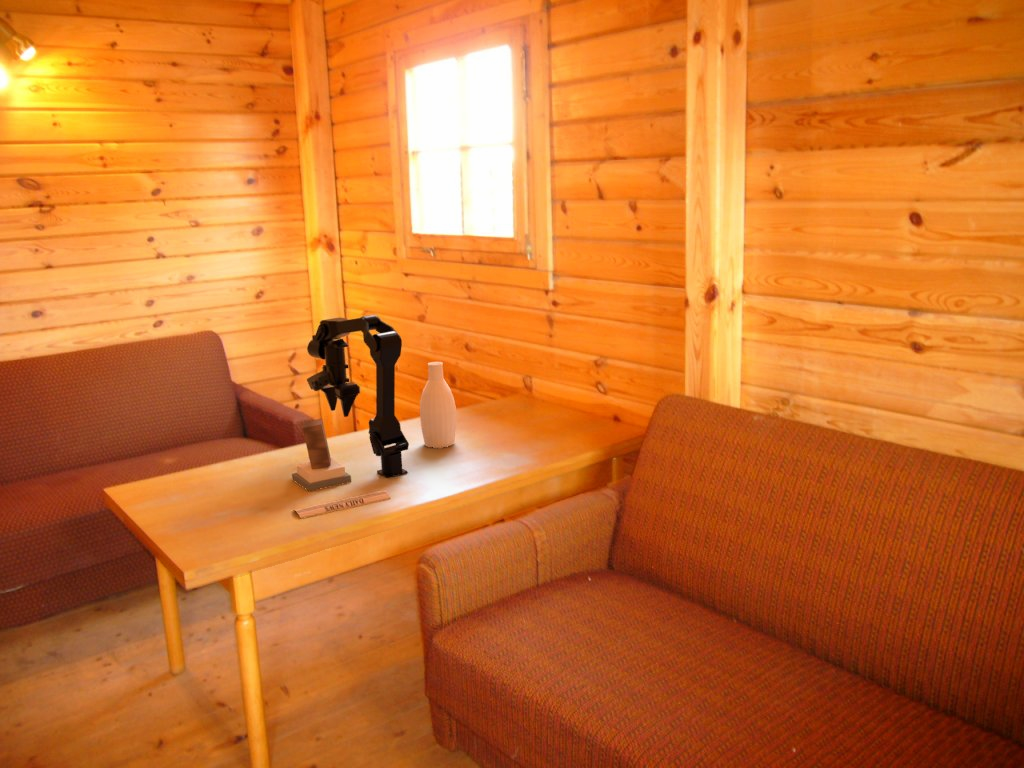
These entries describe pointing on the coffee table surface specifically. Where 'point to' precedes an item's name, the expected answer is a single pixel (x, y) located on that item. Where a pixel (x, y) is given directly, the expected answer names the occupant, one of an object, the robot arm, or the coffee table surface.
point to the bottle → (437, 409)
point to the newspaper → (342, 504)
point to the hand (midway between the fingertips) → (339, 413)
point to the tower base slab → (322, 483)
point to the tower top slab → (320, 471)
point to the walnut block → (316, 443)
